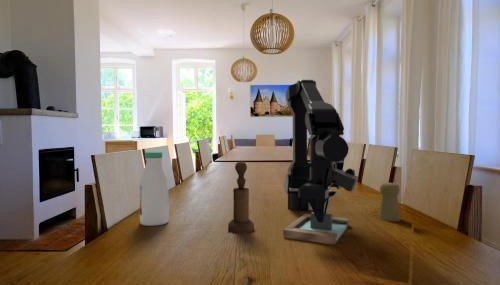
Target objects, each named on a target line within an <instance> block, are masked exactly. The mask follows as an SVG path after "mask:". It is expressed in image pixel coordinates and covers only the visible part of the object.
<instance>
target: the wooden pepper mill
mask: <svg viewBox="0 0 500 285" xmlns="http://www.w3.org/2000/svg"><path fill="white" fill-rule="evenodd" d="M234 169H235V171H236V174H237V176H238V177H237V179H236V182H237V187H234V188H233V191H232V192H233V212H232V213H233V216H232V217H233V219H231V220H230V221H229V222H228V226H227V231H228V233H236V234H247V233H251V232H253V231H255V223H254V222H253V221H252V220H251V219H250V213H249V212H250V207H249V206H250V189H249V187H246V186H245V185H246V182H247V180H246V179H245V174H246V172H247V169H248V166H247V163H246V162H245V161H237V162H236V163H235V166H234Z"/></svg>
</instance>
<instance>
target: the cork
mask: <svg viewBox="0 0 500 285" xmlns="http://www.w3.org/2000/svg"><path fill="white" fill-rule="evenodd" d="M379 190H380V191H379V192H380V193H381V194H380V195H381V198H380V199H381V200H380V205H379V213H378V219H379V220H380V221H386V222H400V221H401V215H400V205H399V197H398V195H399V194H400V186H399V185H398V184H397V183H393V182H383V183H381V184H380V186H379Z"/></svg>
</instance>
